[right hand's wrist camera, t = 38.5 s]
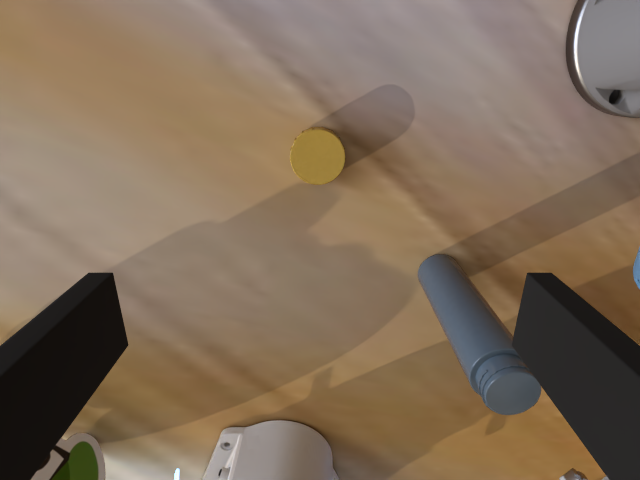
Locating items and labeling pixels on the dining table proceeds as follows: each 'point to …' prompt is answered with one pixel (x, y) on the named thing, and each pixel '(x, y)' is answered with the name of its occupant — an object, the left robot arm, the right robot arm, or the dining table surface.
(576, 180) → the dining table surface
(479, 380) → the bottle
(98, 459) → the cutout
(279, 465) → the left robot arm
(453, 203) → the dining table surface
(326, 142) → the lid
